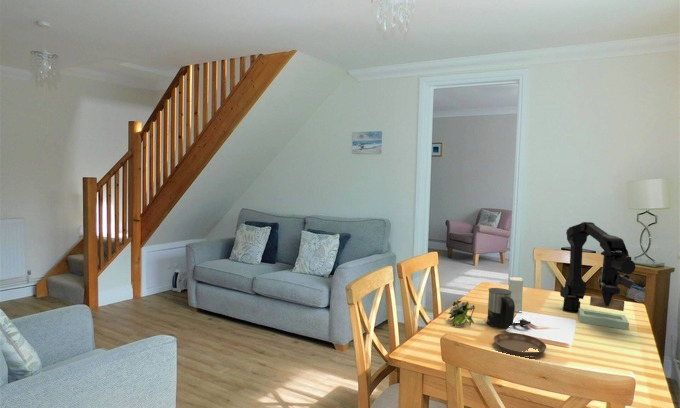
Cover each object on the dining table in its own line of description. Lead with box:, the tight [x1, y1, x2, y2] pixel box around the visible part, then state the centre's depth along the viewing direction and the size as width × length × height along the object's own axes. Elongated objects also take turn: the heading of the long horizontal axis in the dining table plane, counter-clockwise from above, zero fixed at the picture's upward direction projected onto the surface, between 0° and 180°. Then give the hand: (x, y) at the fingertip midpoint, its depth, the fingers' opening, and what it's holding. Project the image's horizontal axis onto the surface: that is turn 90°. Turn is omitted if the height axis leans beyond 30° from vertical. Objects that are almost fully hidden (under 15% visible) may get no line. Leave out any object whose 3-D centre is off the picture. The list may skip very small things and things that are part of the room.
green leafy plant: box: [448, 300, 476, 326], centre depth 186 cm, size 11×11×12 cm
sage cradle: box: [577, 307, 630, 331], centre depth 197 cm, size 18×12×3 cm, turn 65°
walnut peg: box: [589, 294, 625, 312], centre depth 186 cm, size 12×4×4 cm, turn 60°
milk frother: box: [486, 287, 532, 330], centre depth 186 cm, size 14×16×15 cm
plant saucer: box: [493, 332, 547, 358], centre depth 162 cm, size 18×18×3 cm
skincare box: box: [508, 276, 524, 313], centre depth 209 cm, size 8×6×15 cm
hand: (606, 304), depth 187 cm, fingers closed on walnut peg, 4 cm apart
